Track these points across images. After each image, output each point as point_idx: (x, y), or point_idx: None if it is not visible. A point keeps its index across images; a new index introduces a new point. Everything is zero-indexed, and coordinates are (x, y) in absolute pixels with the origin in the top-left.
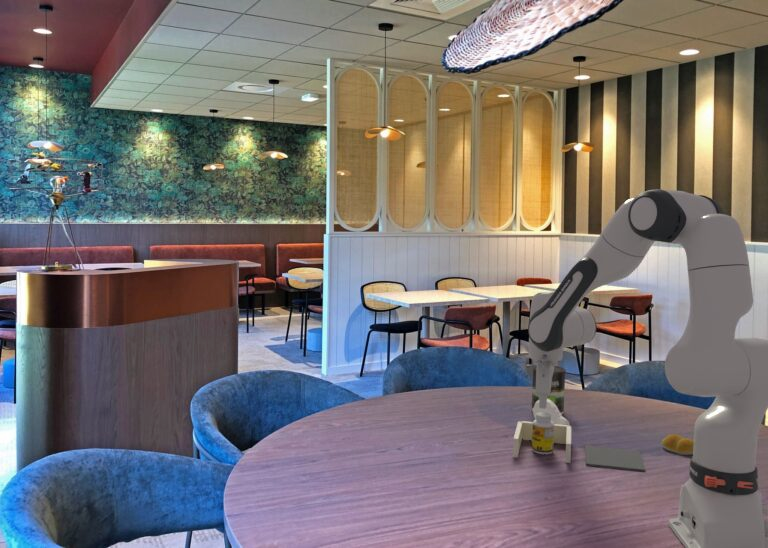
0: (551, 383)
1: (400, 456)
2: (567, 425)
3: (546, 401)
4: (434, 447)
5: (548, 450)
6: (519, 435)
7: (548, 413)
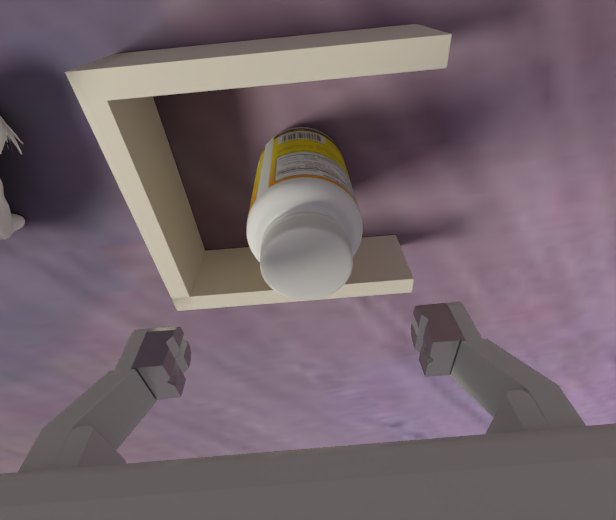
0: (308, 483)
1: (440, 415)
2: (83, 97)
3: (494, 344)
4: (370, 391)
5: (336, 147)
6: (348, 279)
7: (275, 247)
